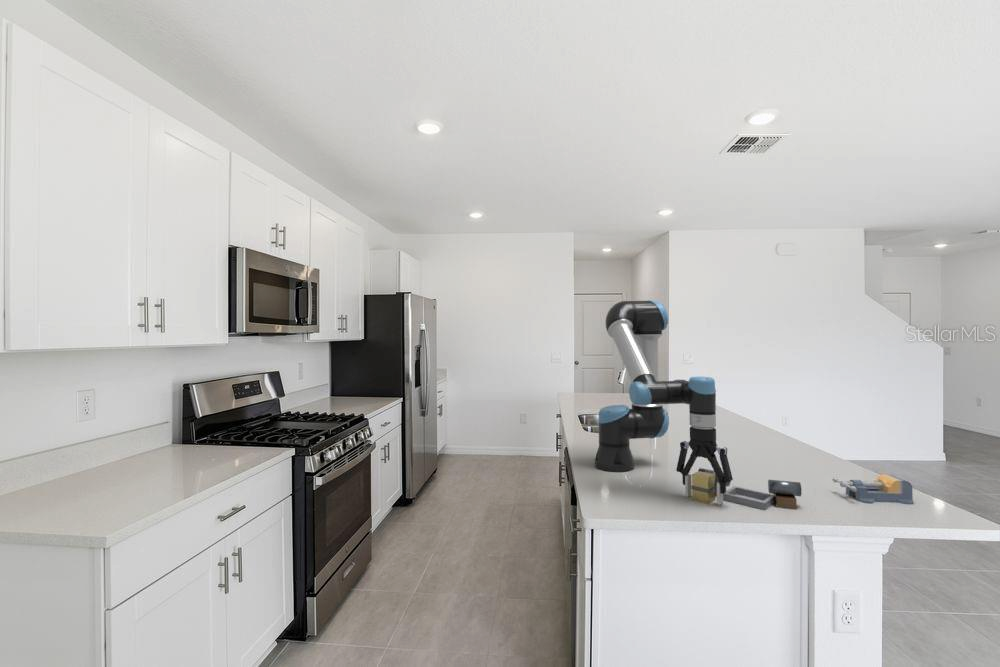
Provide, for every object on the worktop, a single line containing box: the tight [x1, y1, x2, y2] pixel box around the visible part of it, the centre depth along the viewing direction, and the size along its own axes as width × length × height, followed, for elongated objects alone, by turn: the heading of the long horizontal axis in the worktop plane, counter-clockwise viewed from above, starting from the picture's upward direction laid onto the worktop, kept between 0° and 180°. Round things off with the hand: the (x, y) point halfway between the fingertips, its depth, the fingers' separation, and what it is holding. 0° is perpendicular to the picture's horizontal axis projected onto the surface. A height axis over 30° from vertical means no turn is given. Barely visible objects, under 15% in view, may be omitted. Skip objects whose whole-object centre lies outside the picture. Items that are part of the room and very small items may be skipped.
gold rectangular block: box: [691, 470, 716, 505], centre depth 143 cm, size 5×5×8 cm
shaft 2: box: [767, 479, 802, 510], centre depth 139 cm, size 8×6×7 cm
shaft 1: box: [697, 467, 731, 497], centre depth 150 cm, size 9×6×7 cm, turn 43°
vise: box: [832, 473, 914, 505], centre depth 143 cm, size 18×10×7 cm, turn 84°
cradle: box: [723, 485, 775, 511], centre depth 142 cm, size 12×10×2 cm
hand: (703, 499), depth 143 cm, fingers open, 9 cm apart
